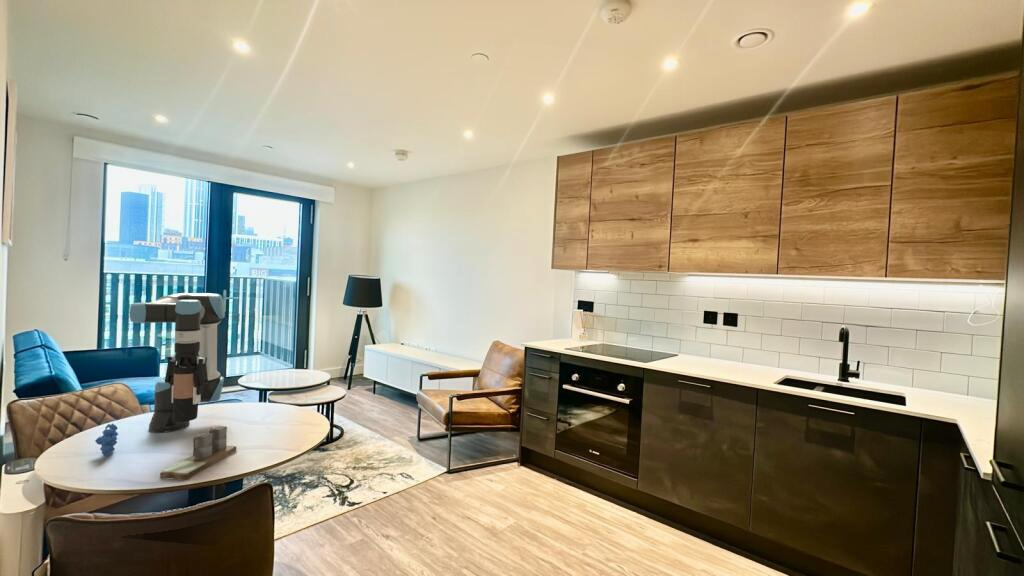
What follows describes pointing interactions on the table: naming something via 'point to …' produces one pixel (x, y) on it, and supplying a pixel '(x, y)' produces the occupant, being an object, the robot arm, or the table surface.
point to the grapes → (108, 439)
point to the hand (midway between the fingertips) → (186, 402)
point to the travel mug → (184, 394)
